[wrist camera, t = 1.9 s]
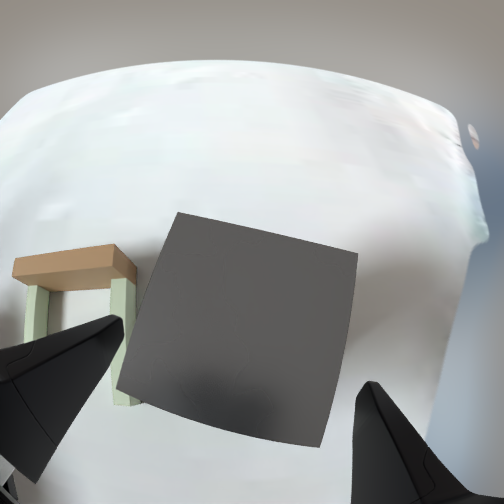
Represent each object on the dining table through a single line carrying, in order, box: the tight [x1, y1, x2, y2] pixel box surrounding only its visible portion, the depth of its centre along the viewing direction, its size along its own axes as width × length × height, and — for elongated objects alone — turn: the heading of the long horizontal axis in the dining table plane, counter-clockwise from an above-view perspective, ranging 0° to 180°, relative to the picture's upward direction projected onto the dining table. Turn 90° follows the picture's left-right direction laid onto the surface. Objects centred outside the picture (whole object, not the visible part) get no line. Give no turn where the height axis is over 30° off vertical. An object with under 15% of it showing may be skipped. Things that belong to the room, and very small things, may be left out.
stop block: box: [116, 212, 358, 448], centre depth 11 cm, size 4×4×12 cm
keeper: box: [12, 244, 141, 406], centre depth 15 cm, size 10×10×4 cm
